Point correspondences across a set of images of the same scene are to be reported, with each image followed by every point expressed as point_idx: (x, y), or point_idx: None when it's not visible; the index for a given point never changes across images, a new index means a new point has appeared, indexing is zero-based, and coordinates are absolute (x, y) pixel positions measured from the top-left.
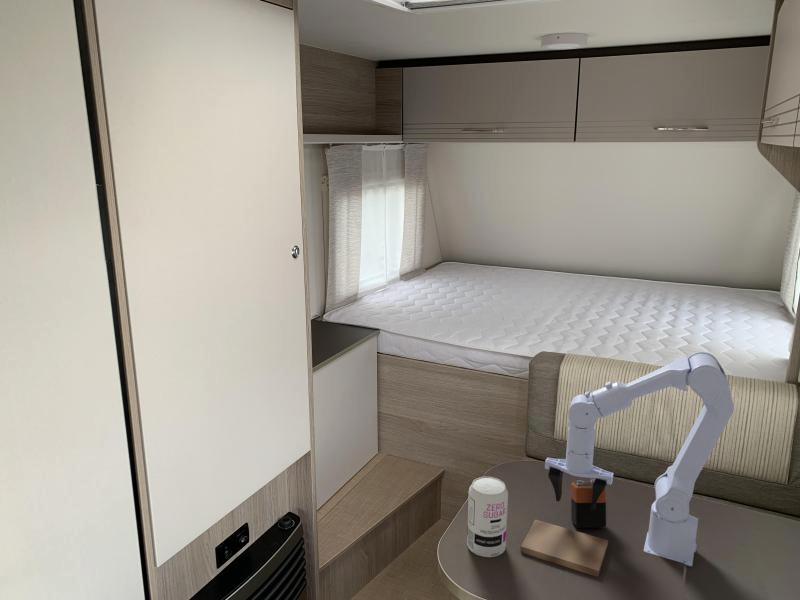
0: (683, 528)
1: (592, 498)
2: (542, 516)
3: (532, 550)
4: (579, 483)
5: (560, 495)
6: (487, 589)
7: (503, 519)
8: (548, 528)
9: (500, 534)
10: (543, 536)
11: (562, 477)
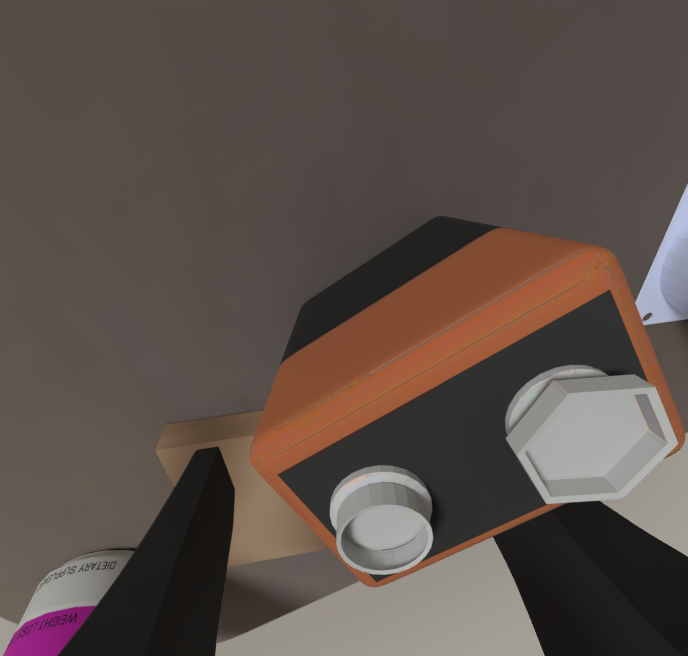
0: None
1: (513, 573)
2: (146, 350)
3: (259, 558)
4: (380, 557)
5: (221, 500)
6: (233, 631)
7: None
8: (246, 464)
9: None
10: (255, 506)
11: (147, 652)
